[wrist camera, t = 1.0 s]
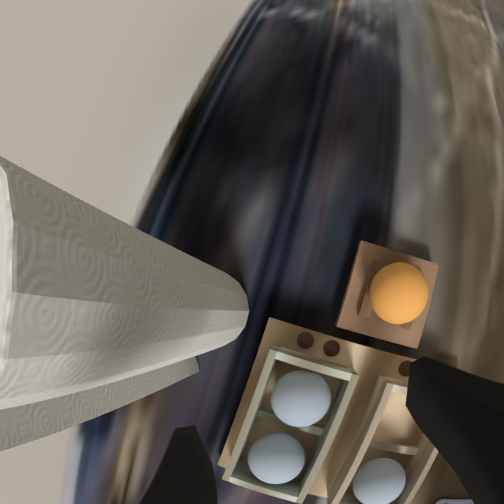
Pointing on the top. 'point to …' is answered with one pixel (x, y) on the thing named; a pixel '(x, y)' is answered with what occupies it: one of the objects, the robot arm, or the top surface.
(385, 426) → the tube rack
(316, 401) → the slate ball
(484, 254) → the top surface
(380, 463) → the slate ball
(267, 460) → the slate ball
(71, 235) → the paper towel roll
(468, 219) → the top surface
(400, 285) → the ball orange
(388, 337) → the stand
